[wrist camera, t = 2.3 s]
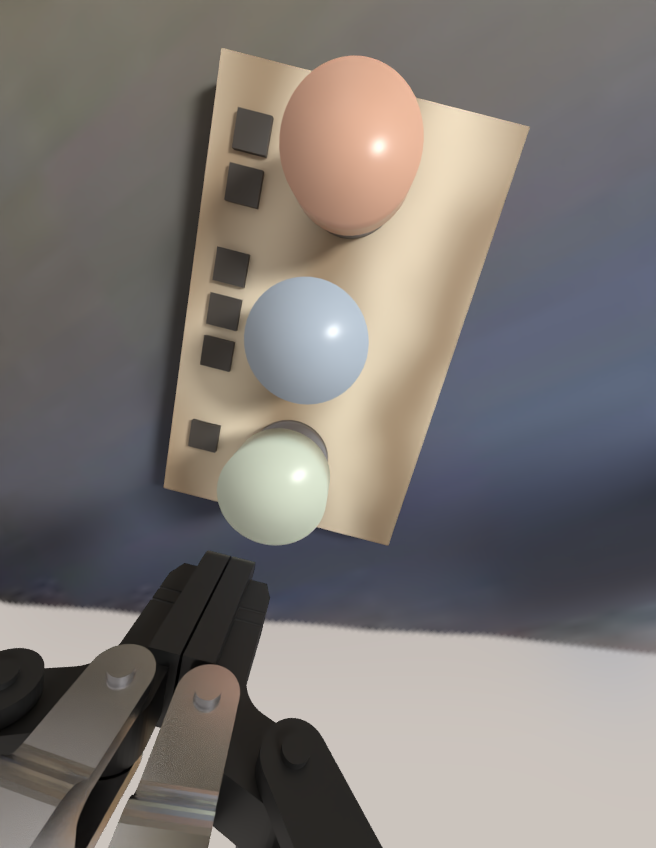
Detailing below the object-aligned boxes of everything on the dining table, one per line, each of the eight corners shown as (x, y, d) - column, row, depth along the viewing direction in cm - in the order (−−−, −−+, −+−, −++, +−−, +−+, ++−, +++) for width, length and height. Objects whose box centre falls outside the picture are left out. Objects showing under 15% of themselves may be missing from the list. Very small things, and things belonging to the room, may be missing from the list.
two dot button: (430, 112, 15) (443, 76, 13) (393, 248, 16) (399, 238, 14) (305, 80, 15) (295, 38, 13) (279, 219, 16) (266, 204, 14)
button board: (512, 145, 19) (537, 118, 16) (385, 527, 25) (389, 553, 23) (235, 74, 19) (215, 35, 16) (178, 474, 25) (157, 493, 23)
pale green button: (340, 442, 19) (338, 460, 17) (317, 529, 21) (312, 556, 18) (242, 417, 19) (226, 431, 17) (225, 505, 21) (209, 530, 18)
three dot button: (380, 297, 17) (383, 294, 15) (351, 404, 19) (350, 417, 16) (270, 268, 17) (256, 262, 15) (249, 378, 19) (234, 387, 16)
